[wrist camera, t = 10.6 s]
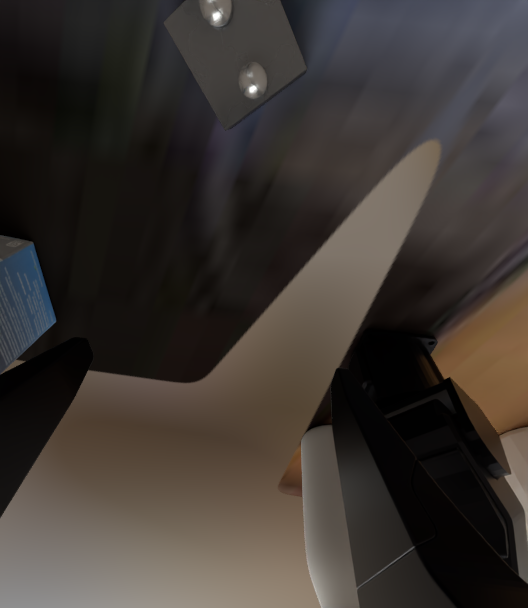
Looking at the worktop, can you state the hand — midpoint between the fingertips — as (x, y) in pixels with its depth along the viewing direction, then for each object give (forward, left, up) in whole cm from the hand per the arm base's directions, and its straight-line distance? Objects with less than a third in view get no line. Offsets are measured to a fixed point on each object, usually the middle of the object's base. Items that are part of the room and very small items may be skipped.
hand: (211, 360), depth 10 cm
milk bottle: (-12, +27, -13) cm, 32 cm away
